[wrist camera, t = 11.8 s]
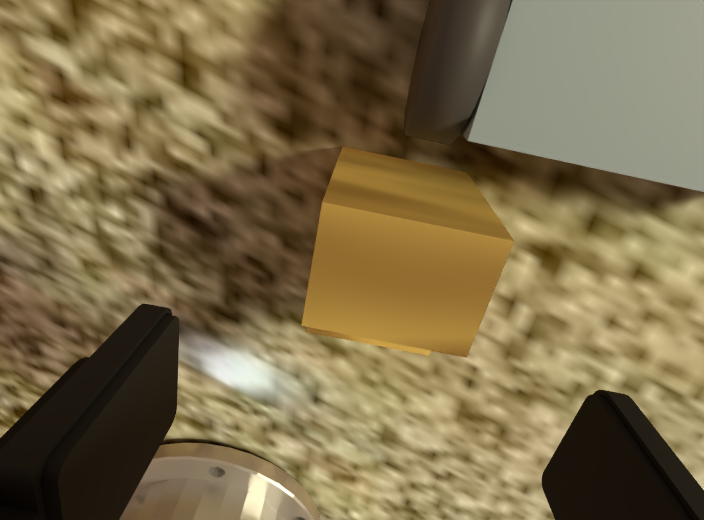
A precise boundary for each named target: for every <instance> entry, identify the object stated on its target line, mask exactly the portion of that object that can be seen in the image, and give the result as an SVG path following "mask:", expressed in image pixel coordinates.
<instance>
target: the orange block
mask: <svg viewBox="0 0 704 520" xmlns="http://www.w3.org/2000/svg"><path fill="white" fill-rule="evenodd" d="M513 243H514V240H513V239H512V237H511V236H510V234H509V233H508V231H507V230H506V228H505V227H504V225H503V224H502V223H501V221H500V220H499V218H498V217H497V215H496V214H495V212H494V211H493V210H492V208H491V207H490V205H489V204H488V202H487V201H486V199H485V198H484V197H483V195H482V194H481V192H480V191H479V189H478V188H477V186H476V185H475V183H474V182H473V181H472V179H471V178H470V176H469V175H468V173H467V172H463V171H458V170H453V169H448V168H444V167H439V166H434V165H429V164H425V163H420V162H415V161H410V160H405V159H401V158H396V157H391V156H386V155H381V154H377V153H372V152H367V151H362V150H358V149H353V148H348V147H342V150H341V152H340V155H339V158H338V160H337V163H336V166H335V169H334V171H333V174H332V177H331V179H330V182H329V185H328V188H327V190H326V193H325V196H324V198H323V201H322V206H321V212H320V218H319V224H318V230H317V236H316V242H315V248H314V254H313V259H312V265H311V271H310V277H309V283H308V289H307V295H306V301H305V307H304V313H303V319H302V325H301V326H306V327H307V328H306V332H310V333H315V334H320V335H325V336H331V337H336V338H341V339H346V340H351V341H357V342H362V343H367V344H372V345H377V346H383V347H388V348H393V349H398V350H403V351H409V352H414V353H419V354H424V355H430V352H431V351H436V352H441V353H446V354H451V355H457V356H462V357H467V355H468V353H469V350H470V348H471V345H472V343H473V341H474V338H475V336H476V333H477V331H478V328H479V326H480V324H481V321H482V319H483V316H484V314H485V311H486V309H487V307H488V304H489V302H490V299H491V297H492V294H493V292H494V290H495V287H496V285H497V282H498V280H499V277H500V275H501V272H502V270H503V268H504V265H505V263H506V260H507V258H508V255H509V253H510V251H511V248H512V246H513Z"/></svg>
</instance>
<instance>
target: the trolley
mask: <svg viewBox="0 0 704 520" xmlns="http://www.w3.org/2000/svg"><path fill="white" fill-rule="evenodd" d="M460 133H461V134H462V135H463V136H464V137H465V138H466V140H467V141H471V142H475V143H480V144H485V145H489V146H494V147H498V148H503V149H508V150H512V151H517V152H521V153H526V154H531V155H535V156H540V157H545V158H549V159H554V160H558V161H563V162H568V163H572V164H577V165H581V166H586V167H591V168H595V169H600V170H604V171H609V172H614V173H618V174H623V175H628V176H632V177H637V178H641V179H646V180H651V181H655V182H660V183H664V184H669V185H674V186H678V187H683V188H688V189H692V190H697V191H701V192H704V0H430V2H429V6H428V10H427V13H426V17H425V21H424V25H423V29H422V33H421V37H420V41H419V46H418V50H417V54H416V59H415V63H414V68H413V72H412V77H411V82H410V87H409V93H408V98H407V104H406V111H405V119H404V134H405V135H406V136H411V137H415V138H420V139H425V140H429V141H434V142H438V143H443V144H451V143H453V142H454V141H455V140H456V139H457V137H458V136H459V135H460Z"/></svg>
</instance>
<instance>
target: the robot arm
mask: <svg viewBox="0 0 704 520" xmlns="http://www.w3.org/2000/svg"><path fill="white" fill-rule="evenodd" d="M178 347H179V318H178V317H176V316H172V312H171V309H169V308H165V307H159V306H154V305H149V304H141V305H140V306H139V307H138V308H137V309H136V310H135V311H134V312H133V313H132V314H131V315H130V316H129V317H128V318H127V319H126V320H125V321H124V322H123V323H122V324H121V325H120V326H119V327H118V328H117V329H116V331H115V332H114V333H113V334H112V335H111V336H110V337H109V338H108V339H107V340H106V341H105V342H104V343H103V344H102V345H101V346H100V347H99V348H98V349H97V350H96V351H95V352H94V353H93V354H92V356H91V357H90V358H88V357H85V358H82V359H80V360H79V361H77V362H76V363H75V364H74V365H73V366H72V367H71V368H70V369H69V370H68V371H67V372H66V373H65V374H64V375H63V376H62V377H61V378H60V379H59V380H58V381H57V382H56V383H55V384H54V385H53V386H52V387H51V388H50V389H49V390H48V391H47V392H46V393H45V394H44V395H43V396H42V397H41V398H40V399H39V400H38V401H37V402H36V403H35V404H34V405H33V406H32V407H31V408H30V409H29V410H28V411H27V412H26V413H25V414H24V415H23V416H22V417H21V418H20V419H19V420H18V421H17V422H16V423H15V424H14V425H13V426H12V427H11V428H10V429H9V430H8V431H7V432H6V433H5V434H4V435H3V436H2V437H1V438H0V520H320V515H319V512H318V509H317V507H316V505H315V503H314V501H313V499H312V498H311V497H310V495H309V494H308V493H307V491H306V490H305V489H304V487H303V486H301V485H300V484H299V483H298V482H297V481H296V480H295V479H294V478H292V477H291V476H290V475H289V474H288V473H286V472H285V471H283V470H281V469H280V468H278V467H277V466H275V465H274V464H272V463H270V462H268V461H266V460H263V459H261V458H259V457H257V456H255V455H253V454H250V453H246V452H243V451H240V450H237V449H233V448H230V447H225V446H219V445H213V444H207V443H175V444H165V445H161V443H162V441H163V440H164V438H165V436H166V434H167V432H168V430H169V429H170V427H171V425H172V423H173V420H174V418H175V414H176V409H177V382H178ZM160 445H161V446H160ZM542 487H543V491H544V493H545V496H546V498H547V501H548V503H549V505H550V508H551V510H552V513H553V515H554V518H555V520H704V490H703V489H702V488H701V486H700V485H699V484H698V483H697V481H696V480H695V479H694V477H693V476H692V475H691V474H690V472H689V471H688V470H687V469H686V467H685V466H684V465H683V463H682V462H681V461H680V460H679V458H678V457H677V456H676V455H675V453H674V452H673V451H672V449H671V448H670V447H669V446H668V444H667V443H666V442H665V441H664V439H663V438H662V437H661V435H660V434H659V433H658V432H657V430H656V429H655V428H654V427H653V425H652V424H651V423H650V421H649V420H648V419H647V418H646V416H645V415H644V414H643V413H642V411H641V410H640V409H639V407H638V406H637V405H636V404H635V402H634V401H633V400H632V399H631V398H630V397H629V396H628V395H625V394H621V393H616V392H610V391H605V390H598V391H596V392H595V393H594V394H593V395H589V396H587V398H586V399H585V401H584V402H583V404H582V406H581V408H580V409H579V411H578V413H577V415H576V416H575V418H574V420H573V422H572V423H571V425H570V427H569V429H568V430H567V432H566V434H565V436H564V437H563V439H562V441H561V443H560V444H559V446H558V448H557V450H556V451H555V453H554V455H553V456H552V458H551V460H550V462H549V463H548V465H547V467H546V469H545V470H544V472H543V475H542Z"/></svg>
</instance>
